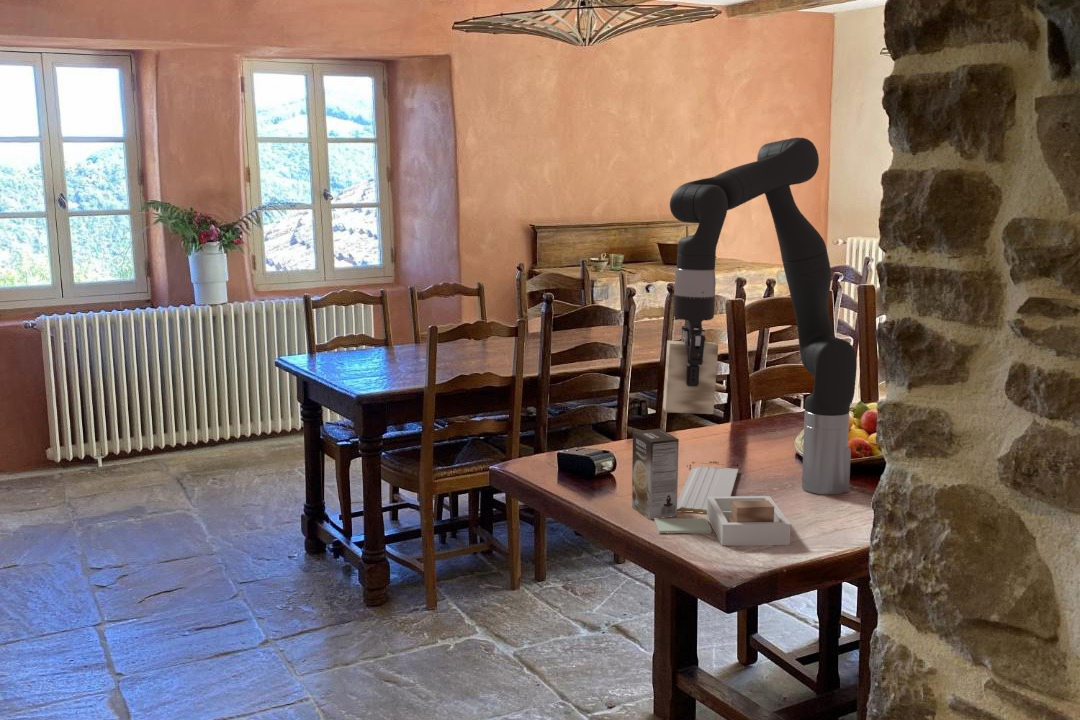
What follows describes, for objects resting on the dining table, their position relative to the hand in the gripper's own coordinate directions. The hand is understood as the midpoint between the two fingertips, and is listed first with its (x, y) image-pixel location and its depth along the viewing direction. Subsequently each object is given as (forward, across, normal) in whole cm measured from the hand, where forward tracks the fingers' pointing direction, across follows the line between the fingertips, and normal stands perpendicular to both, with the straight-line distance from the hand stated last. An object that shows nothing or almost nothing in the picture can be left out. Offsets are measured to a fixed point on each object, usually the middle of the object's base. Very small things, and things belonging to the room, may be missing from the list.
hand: (690, 383), depth 196 cm
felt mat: (+28, 0, 0) cm, 28 cm away
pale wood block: (+5, 0, 0) cm, 5 cm away
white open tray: (+28, -2, -12) cm, 30 cm away
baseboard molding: (+29, +24, -8) cm, 38 cm away
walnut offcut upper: (+25, -7, -12) cm, 28 cm away
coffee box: (+29, +10, +5) cm, 31 cm away
